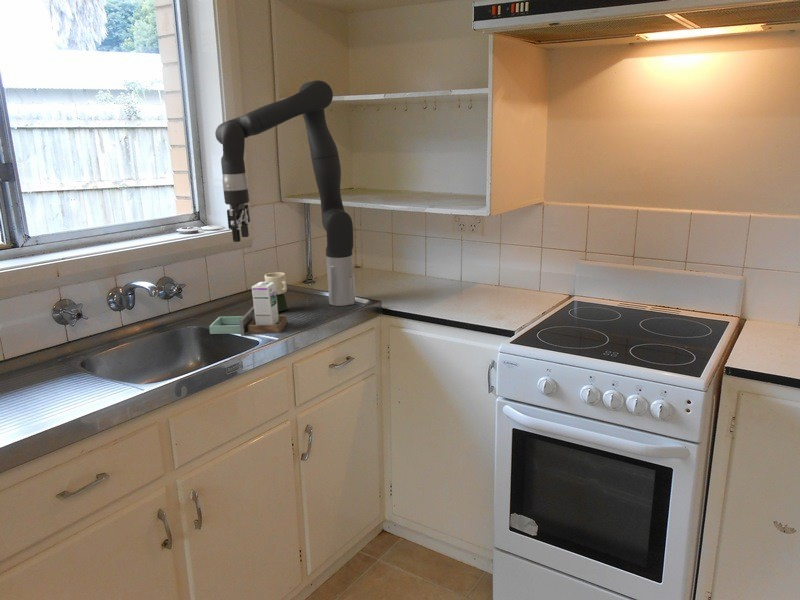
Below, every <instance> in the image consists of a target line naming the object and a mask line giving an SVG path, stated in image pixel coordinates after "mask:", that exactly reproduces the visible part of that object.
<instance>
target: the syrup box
mask: <svg viewBox="0 0 800 600" xmlns="http://www.w3.org/2000/svg"><path fill="white" fill-rule="evenodd" d="M251 293H252V301H253V302H252V303H253V307H254V312H255V321H256V325H278V324H279V323H280V320H279V316H280V313H279V312H280V311H278V301H277V292H276V283H275V282H265V281H259V282H258V283H255V284H254V285H252V286H251Z"/></svg>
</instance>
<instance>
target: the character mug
mask: <svg viewBox="0 0 800 600" xmlns="http://www.w3.org/2000/svg"><path fill="white" fill-rule="evenodd" d="M264 282H275V283H276V292H277V301H278V311H279V312H280V313H282V311H287V310H288V303H287V300H286V296H285V293H286V292H287V290H288V284H287V276H286V273H285V272H280V271H279V272H278V271H276V272H269V273H265V274H264Z"/></svg>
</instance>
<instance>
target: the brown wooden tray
mask: <svg viewBox="0 0 800 600" xmlns="http://www.w3.org/2000/svg"><path fill="white" fill-rule="evenodd" d="M287 316H288V315H279V320H280V323H279V324H278V325H256V321H255V318H254V319H253V320H252V321H251V322H250V323H249V324H248V332H247V334H275V333H276V334H281V332H282V331H283V329H284V328H285V326H286V325H287V323H288V319H287Z"/></svg>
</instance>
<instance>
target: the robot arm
mask: <svg viewBox="0 0 800 600" xmlns="http://www.w3.org/2000/svg"><path fill="white" fill-rule="evenodd" d="M333 98H334V93H333V90H332V87H331V86H330V84H329V83H327V82H326V81H323V80H317V79H316V80H311V81H308V82H305V83H303V84H302V85H301V86H300V88H299V90H298V92H297V93H295V94H293V95H291V96H288V97H286V98H283V99H280V100H277V101H274V102H271V103H269V104H266V105H263V106H260V107H258V108H256V109H254V110H251V111H249V112H246V113H245V114H243V115H241V116H239V117H235V118H232V119H229V120H227V121H223V122H222V123H220V124H218V126H217V127H216V129H215V131H214V132H215V133H214V134H215V138H216V140H217V141H218V143H219V144H221V145H222V156H221V159H220V163H221V164H220V166H221V175H222V191H223V198H224V199H223V200H224V203H225V204H226V205H230V209H226V215H227V227H228V229H229V230H231V233H232V242H234V243H239V242H241V240H242V239H241V237H242V238H248V237H249V236H250V233H249V226H248V225H249V224H250V222H251V217H250V210H249V204H248V203H249V202H250V194H249V186H248V179H247V174H246V167H245V166H246V165H245V164H246V163H245V158H244V157H245V148H246V147H245V144H246V143H245V141H246V138H249V137H251V136H258V135H260V134H263V133H265V132H266V131H269V130H271V129H273V128H275V127H277V126H279V125H281V124H283V123H285V122H287V121H289V120H291V119H293V118H296V117H298V116H301V115H302V117H303V121H304V123H305V129H306V133H307V140H308V148H309V151H310V153H309V154H310V158H311V163H312V169H313V172H314V173H313V174H314V178H315V182H316V186H317V190H318V194H319V199H320V200H319V201H320V210H321V223H322V227H323V229H324V230H325V232H326V248H325V257H326V260H325V261H326V273H327V275H326V276H327V289H328V302H329V305H331V306H335V307H336V306H337V307H338V306H339V307H340V306H341V307H343V306H350V305H355V303H356V301H355V298H356V297H357V296H356V295H357V294H356V278H355V274H354V260H353V259H354V258H353V249H354V225H353V219H352V217H351V216H350V214H349V213H348V212H346V210H345V207H344V204H343V200H342V196H341V195H342V194H341V181H342V177H341V176H342V168H341V161H340V156H339V151H338V147H337V145H336V142H335V140H334V138H333V136H332V134H331V132H330V129H329V127H328V124H327V120H326V114H325V109H327V108H328V107H329V106H330V104H332V101H333Z"/></svg>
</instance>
